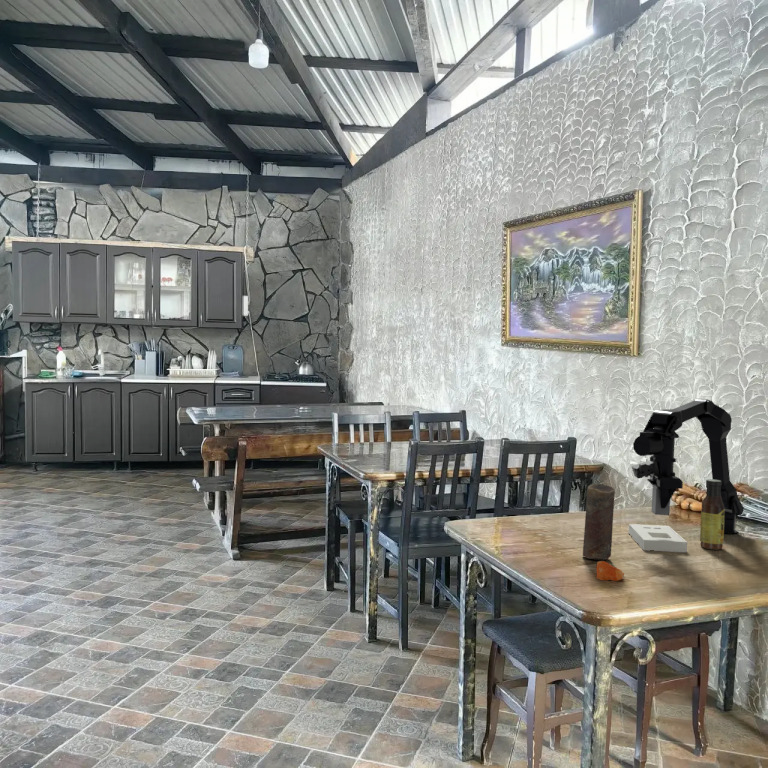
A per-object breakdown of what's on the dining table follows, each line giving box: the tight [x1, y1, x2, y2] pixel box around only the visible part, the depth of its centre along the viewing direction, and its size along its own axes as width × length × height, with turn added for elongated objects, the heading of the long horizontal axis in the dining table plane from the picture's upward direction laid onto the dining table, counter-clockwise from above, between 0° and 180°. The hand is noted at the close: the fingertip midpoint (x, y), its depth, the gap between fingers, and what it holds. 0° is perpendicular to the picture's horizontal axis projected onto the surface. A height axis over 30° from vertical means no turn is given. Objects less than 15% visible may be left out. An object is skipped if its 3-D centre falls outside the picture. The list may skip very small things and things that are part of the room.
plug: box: [651, 485, 671, 516], centre depth 206 cm, size 4×4×8 cm
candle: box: [582, 483, 616, 561], centre depth 191 cm, size 8×7×20 cm
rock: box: [596, 560, 625, 582], centre depth 176 cm, size 12×12×4 cm
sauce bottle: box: [699, 478, 725, 551], centre depth 205 cm, size 7×6×20 cm
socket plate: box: [627, 523, 688, 553], centre depth 209 cm, size 18×12×3 cm, turn 174°
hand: (660, 506), depth 206 cm, fingers closed on plug, 4 cm apart
